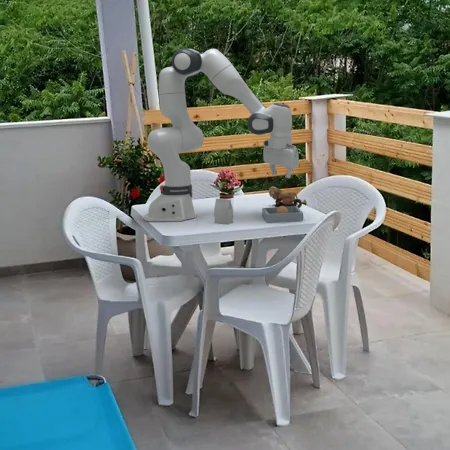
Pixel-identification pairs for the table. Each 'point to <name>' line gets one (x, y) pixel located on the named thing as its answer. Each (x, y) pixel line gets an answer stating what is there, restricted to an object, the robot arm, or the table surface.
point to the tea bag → (223, 211)
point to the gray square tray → (282, 215)
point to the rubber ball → (281, 210)
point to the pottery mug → (287, 202)
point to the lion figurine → (281, 194)
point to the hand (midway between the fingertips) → (280, 176)
